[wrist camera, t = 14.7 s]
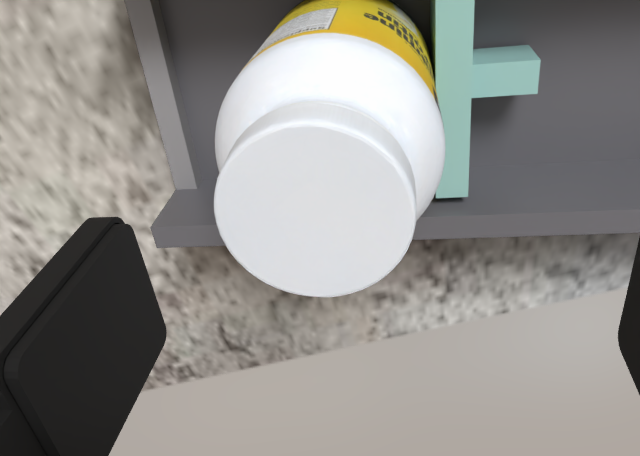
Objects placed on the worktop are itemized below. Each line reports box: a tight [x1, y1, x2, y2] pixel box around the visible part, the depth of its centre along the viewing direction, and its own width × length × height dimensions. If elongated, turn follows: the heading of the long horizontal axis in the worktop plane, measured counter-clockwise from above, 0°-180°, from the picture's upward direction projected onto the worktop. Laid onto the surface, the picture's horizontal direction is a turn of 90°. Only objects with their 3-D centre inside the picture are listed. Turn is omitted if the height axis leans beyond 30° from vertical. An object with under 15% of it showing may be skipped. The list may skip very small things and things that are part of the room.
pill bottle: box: [214, 0, 446, 297], centre depth 18 cm, size 6×6×12 cm
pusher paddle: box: [430, 0, 541, 198], centre depth 20 cm, size 4×8×3 cm, turn 6°
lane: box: [124, 0, 640, 248], centre depth 20 cm, size 26×11×7 cm, turn 96°
